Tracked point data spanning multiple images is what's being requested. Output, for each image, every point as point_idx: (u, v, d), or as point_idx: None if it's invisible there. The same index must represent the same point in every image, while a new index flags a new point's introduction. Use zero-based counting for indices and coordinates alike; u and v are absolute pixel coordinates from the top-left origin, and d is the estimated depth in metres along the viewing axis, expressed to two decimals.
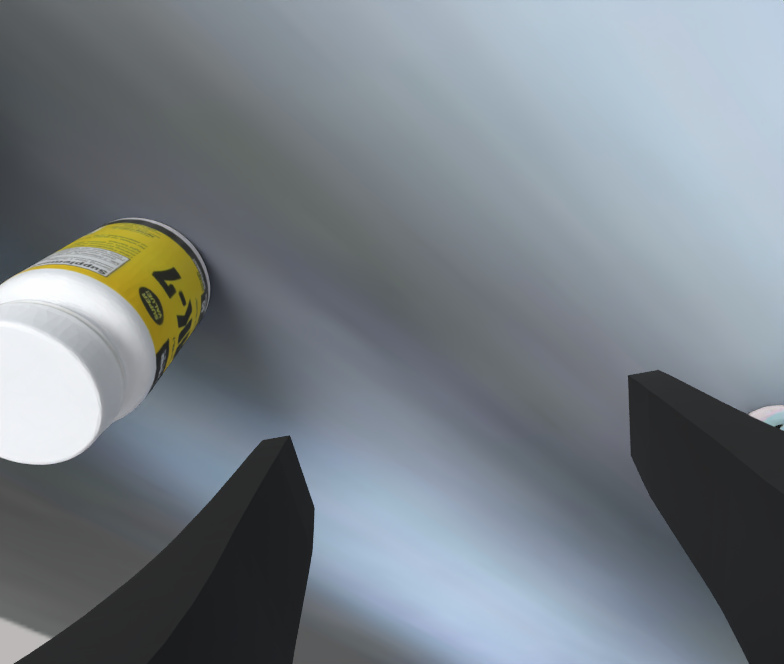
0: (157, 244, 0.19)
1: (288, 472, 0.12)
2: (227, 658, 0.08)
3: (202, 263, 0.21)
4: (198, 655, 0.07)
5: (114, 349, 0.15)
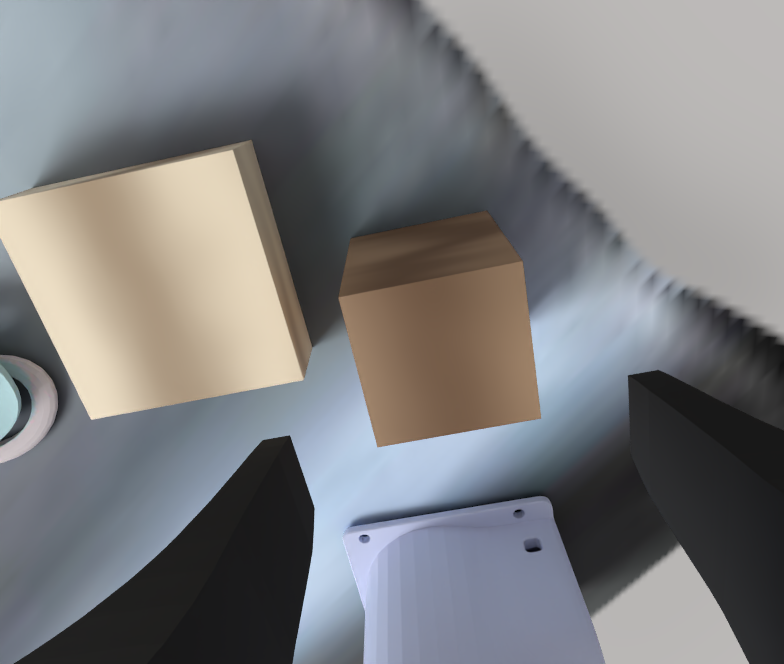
0: None
1: (288, 472, 0.12)
2: (227, 658, 0.08)
3: None
4: (198, 655, 0.07)
5: None
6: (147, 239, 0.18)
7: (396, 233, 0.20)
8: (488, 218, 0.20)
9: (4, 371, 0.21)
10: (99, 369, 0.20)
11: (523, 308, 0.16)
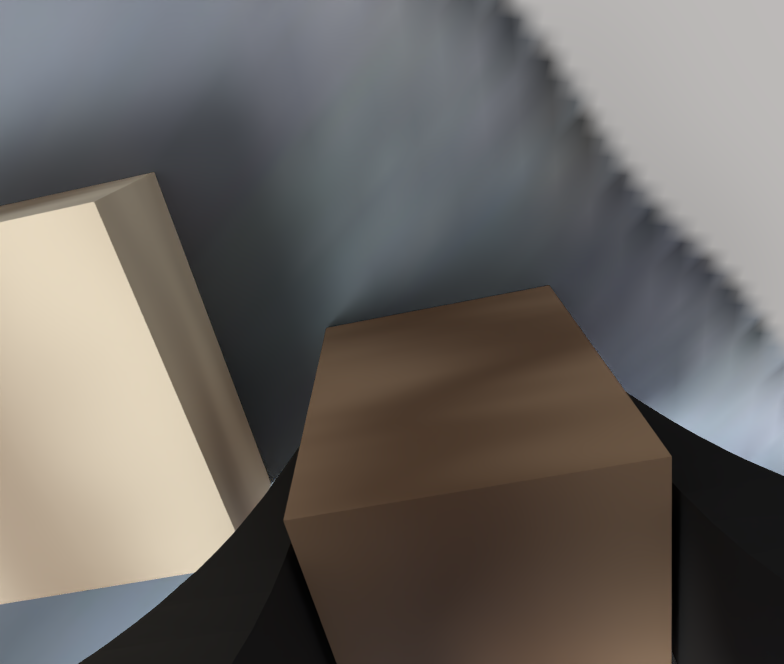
0: None
1: None
2: (299, 648, 0.08)
3: None
4: (278, 643, 0.07)
5: None
6: None
7: (401, 326, 0.12)
8: (557, 306, 0.12)
9: None
10: None
11: (661, 538, 0.08)
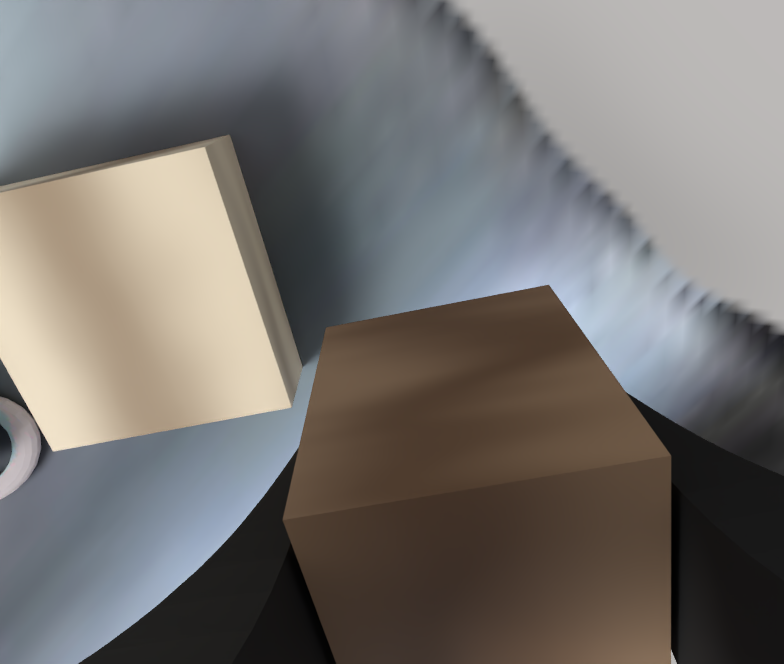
0: None
1: None
2: (299, 647, 0.08)
3: None
4: (278, 643, 0.07)
5: None
6: (108, 250, 0.16)
7: (400, 325, 0.12)
8: (557, 306, 0.12)
9: None
10: (59, 396, 0.18)
11: (661, 537, 0.08)
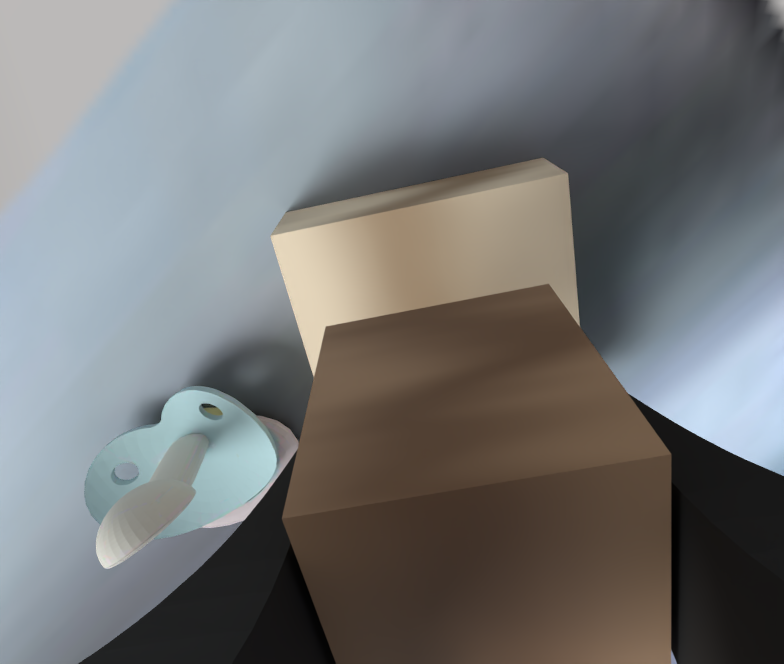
0: None
1: None
2: (299, 647, 0.08)
3: None
4: (278, 643, 0.07)
5: None
6: (447, 274, 0.16)
7: (400, 324, 0.12)
8: (557, 305, 0.12)
9: (271, 438, 0.19)
10: None
11: (661, 536, 0.08)
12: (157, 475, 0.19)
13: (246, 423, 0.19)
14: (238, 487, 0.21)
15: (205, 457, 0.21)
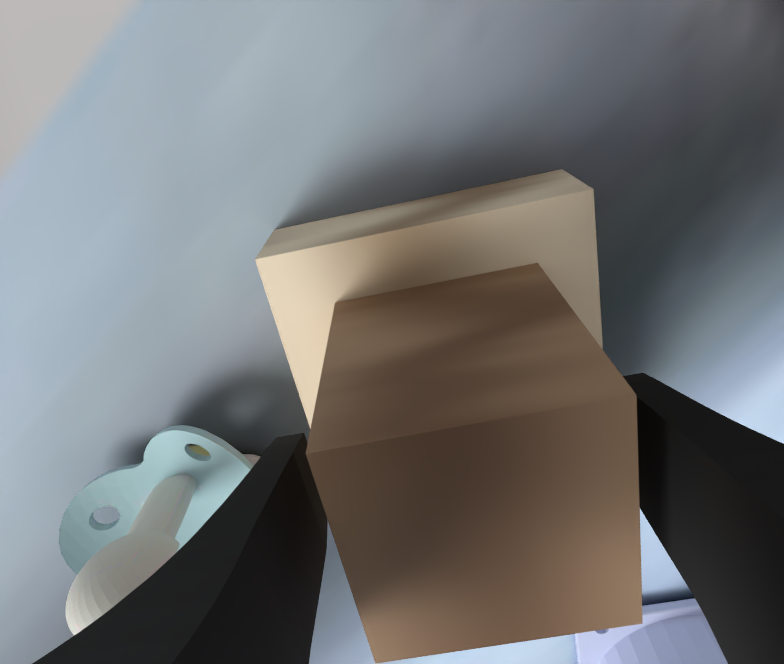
0: None
1: (302, 469, 0.12)
2: (248, 655, 0.08)
3: None
4: (221, 652, 0.07)
5: None
6: None
7: (403, 299, 0.14)
8: (544, 280, 0.13)
9: None
10: None
11: (630, 468, 0.09)
12: (137, 524, 0.17)
13: (236, 466, 0.17)
14: None
15: (192, 499, 0.19)
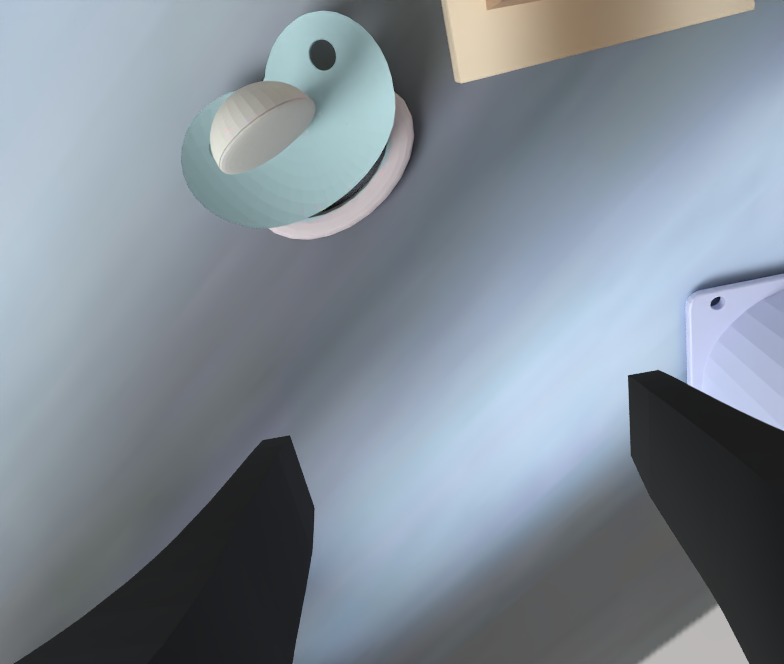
0: None
1: (288, 472, 0.12)
2: (227, 658, 0.08)
3: None
4: (198, 655, 0.07)
5: None
6: None
7: None
8: None
9: (391, 77, 0.17)
10: None
11: None
12: None
13: (363, 59, 0.17)
14: (345, 168, 0.19)
15: (310, 132, 0.19)
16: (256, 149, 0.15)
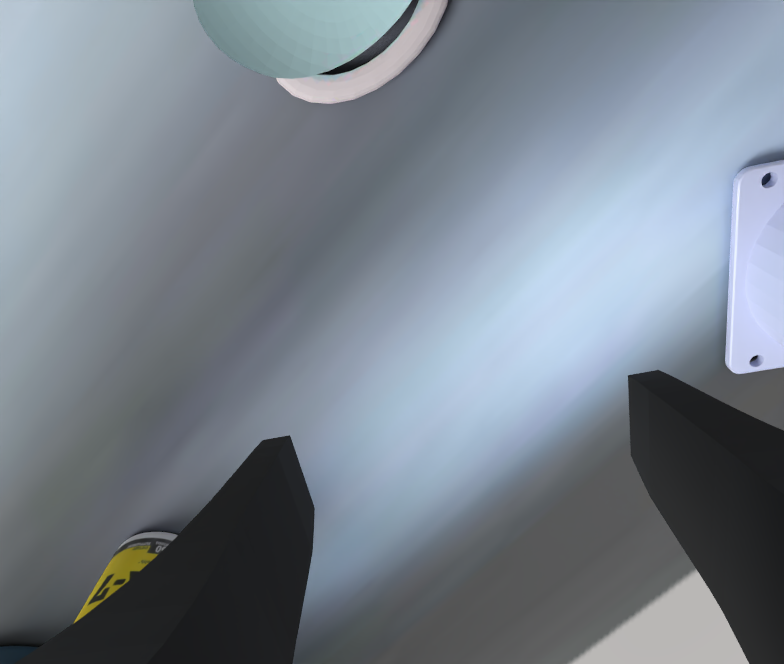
0: (100, 577, 0.26)
1: (288, 472, 0.12)
2: (227, 658, 0.08)
3: (138, 536, 0.27)
4: (198, 655, 0.07)
5: None
6: None
7: None
8: None
9: None
10: None
11: None
12: None
13: None
14: (376, 12, 0.17)
15: None
16: None
